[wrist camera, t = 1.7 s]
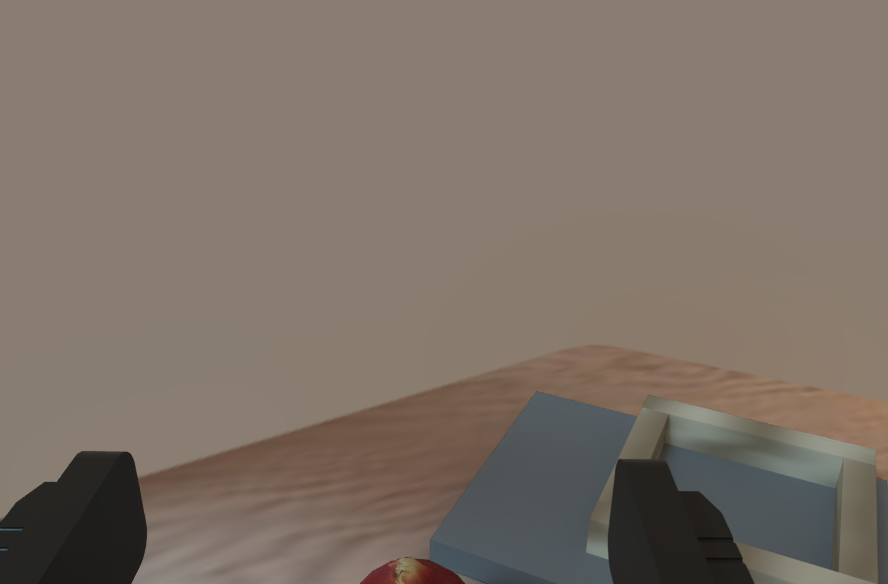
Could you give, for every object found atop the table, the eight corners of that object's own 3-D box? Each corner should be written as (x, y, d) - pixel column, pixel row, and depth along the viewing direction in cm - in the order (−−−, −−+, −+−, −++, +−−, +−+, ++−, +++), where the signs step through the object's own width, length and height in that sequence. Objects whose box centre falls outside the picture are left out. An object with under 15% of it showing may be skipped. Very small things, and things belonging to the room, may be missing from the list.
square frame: (585, 552, 37) (589, 519, 37) (644, 423, 47) (648, 394, 46) (866, 644, 33) (878, 609, 32) (866, 480, 43) (875, 449, 42)
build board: (430, 562, 39) (430, 539, 38) (534, 410, 51) (536, 391, 50) (886, 729, 31) (895, 702, 30) (880, 502, 43) (887, 480, 43)
